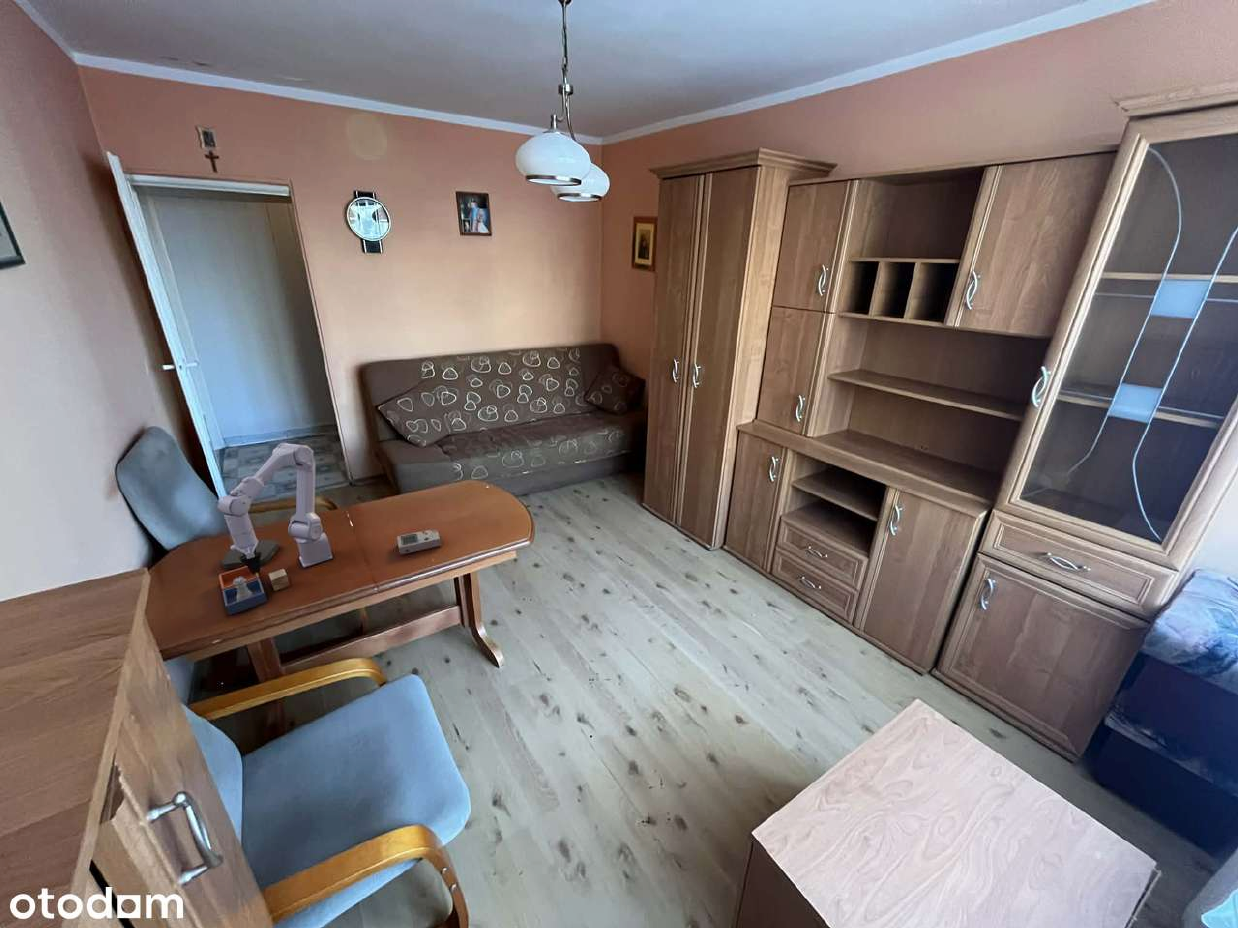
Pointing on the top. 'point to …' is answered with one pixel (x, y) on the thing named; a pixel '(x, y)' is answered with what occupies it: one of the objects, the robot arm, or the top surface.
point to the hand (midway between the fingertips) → (254, 567)
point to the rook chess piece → (242, 589)
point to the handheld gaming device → (418, 541)
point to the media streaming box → (264, 546)
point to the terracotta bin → (229, 577)
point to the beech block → (279, 579)
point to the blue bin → (249, 602)
